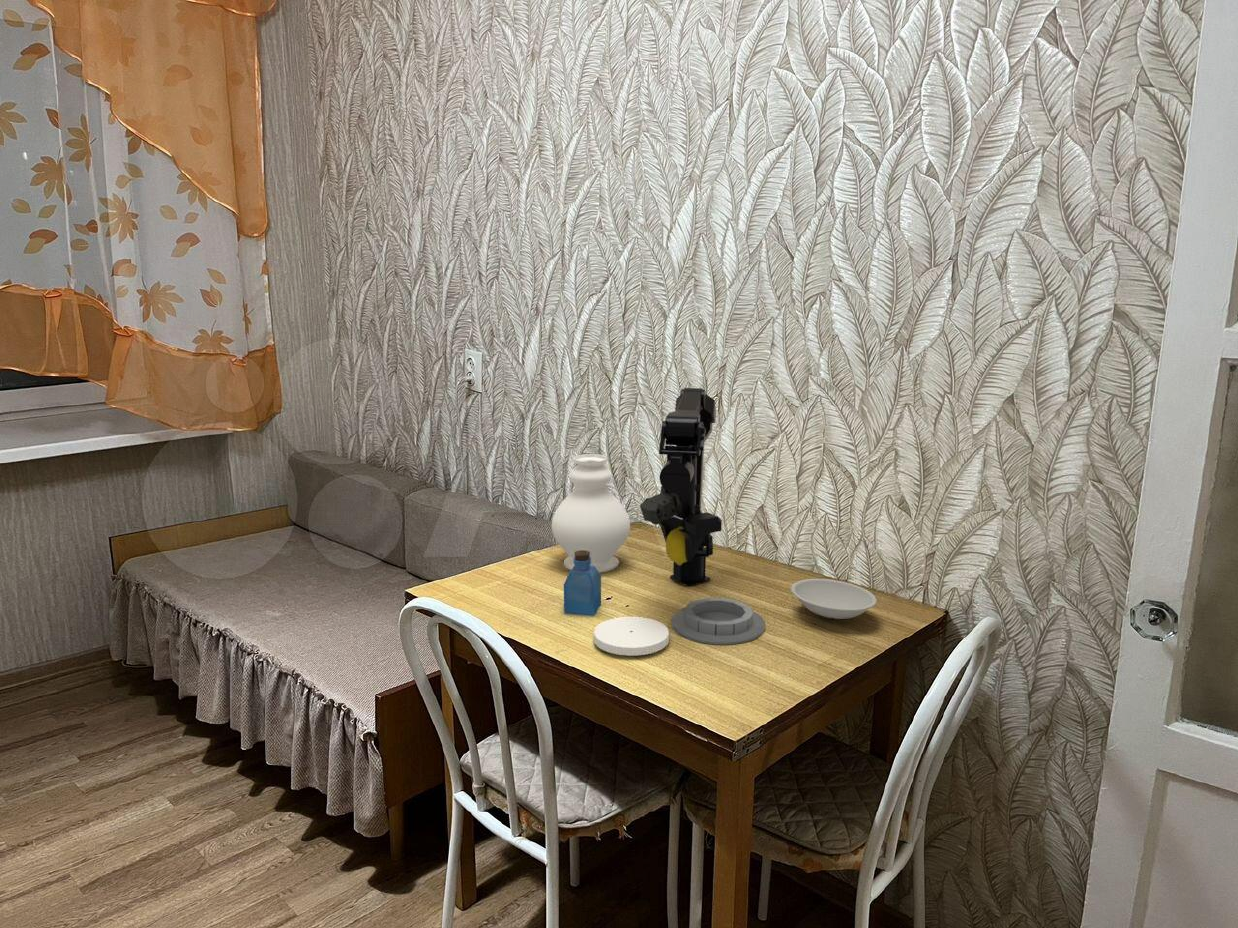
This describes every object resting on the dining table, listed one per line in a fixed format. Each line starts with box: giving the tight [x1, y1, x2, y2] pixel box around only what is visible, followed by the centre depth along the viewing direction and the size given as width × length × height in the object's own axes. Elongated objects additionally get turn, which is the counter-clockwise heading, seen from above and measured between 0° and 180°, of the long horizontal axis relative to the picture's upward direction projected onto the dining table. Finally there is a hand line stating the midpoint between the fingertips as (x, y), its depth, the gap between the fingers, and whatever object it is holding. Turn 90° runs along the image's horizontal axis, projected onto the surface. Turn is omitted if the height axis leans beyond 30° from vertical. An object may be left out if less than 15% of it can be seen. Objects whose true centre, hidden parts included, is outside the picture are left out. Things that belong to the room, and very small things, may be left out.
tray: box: [671, 597, 766, 646], centre depth 184 cm, size 18×18×3 cm
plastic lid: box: [593, 616, 670, 657], centre depth 176 cm, size 14×14×2 cm
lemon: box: [665, 526, 687, 565], centre depth 186 cm, size 6×6×8 cm
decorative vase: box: [551, 453, 631, 574], centre depth 215 cm, size 18×18×25 cm
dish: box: [790, 578, 878, 620], centre depth 187 cm, size 18×14×5 cm
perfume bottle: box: [563, 550, 602, 617], centre depth 191 cm, size 6×6×12 cm
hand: (680, 556), depth 187 cm, fingers closed on lemon, 5 cm apart
